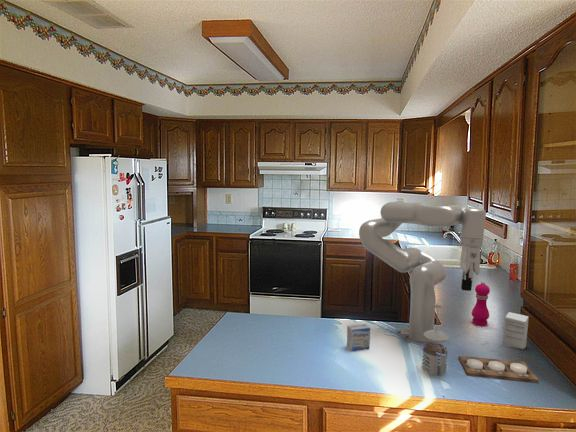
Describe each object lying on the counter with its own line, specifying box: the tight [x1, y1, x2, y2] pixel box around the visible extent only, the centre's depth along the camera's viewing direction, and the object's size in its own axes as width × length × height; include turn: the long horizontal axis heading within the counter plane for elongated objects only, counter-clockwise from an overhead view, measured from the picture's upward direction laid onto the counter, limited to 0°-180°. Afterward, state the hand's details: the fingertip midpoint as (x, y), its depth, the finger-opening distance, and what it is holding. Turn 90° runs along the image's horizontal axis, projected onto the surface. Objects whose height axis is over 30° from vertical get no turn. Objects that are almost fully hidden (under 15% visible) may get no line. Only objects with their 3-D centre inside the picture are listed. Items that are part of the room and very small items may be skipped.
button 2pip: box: [509, 363, 527, 374], centre depth 138 cm, size 5×5×3 cm
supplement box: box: [502, 311, 529, 350], centre depth 159 cm, size 7×7×13 cm
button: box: [487, 361, 505, 372], centre depth 139 cm, size 5×5×3 cm
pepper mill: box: [471, 280, 491, 327], centre depth 181 cm, size 7×7×20 cm
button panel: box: [458, 355, 539, 384], centre depth 139 cm, size 22×12×3 cm, turn 80°
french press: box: [421, 303, 450, 376], centre depth 136 cm, size 10×12×25 cm
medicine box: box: [346, 323, 371, 352], centre depth 157 cm, size 8×4×9 cm, turn 105°
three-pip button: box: [466, 359, 484, 370], centre depth 140 cm, size 5×5×3 cm
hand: (466, 289), depth 150 cm, fingers closed
